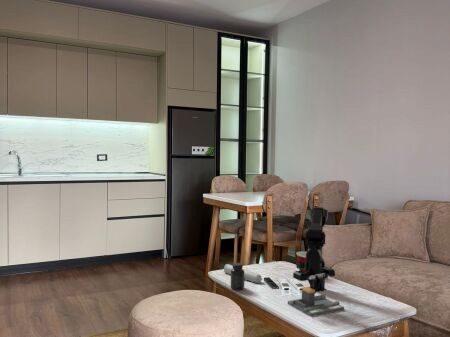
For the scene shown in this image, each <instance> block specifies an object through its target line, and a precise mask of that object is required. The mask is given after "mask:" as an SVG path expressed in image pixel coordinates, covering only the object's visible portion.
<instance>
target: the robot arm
mask: <svg viewBox="0 0 450 337" xmlns="http://www.w3.org/2000/svg"><path fill="white" fill-rule="evenodd" d="M309 218H310V220H311V224H310V225H308V228H307V230H305V231H306V232H305V241H304V246H307V251H306V252H307V253H306V262H304V263H302V261H298V260H296V264H295V265H296V269H297V270H296V271H294V272H293V273H292V274H293V275H292V278H293V279H295V280H298V281H300V282H305V281H307V282H308V284H309V287H310V288H312V289H314V290H315V294H317V293H320V292H324V291H325V292H326V291H327V290H328V289H327V288H325V286H326V285H325V282H326V279H328V278H329V277H332V278H333V277H335V276H336V271H335V269H333V268H331V267H329V266H326V260H325V259H324V257H323V248H324V246H325V245H326V233H325V231H324V226H325V225H326V223H327V219H328V218H329V210H328V209H327V208H326V209H325V208H324V207H321V206H313V207H312V208H310V210H309ZM328 220H329V219H328ZM299 268H300V270H304V269H305V271H308V272H304V271H299Z"/></svg>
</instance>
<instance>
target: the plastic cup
mask: <svg viewBox="0 0 450 337" xmlns="http://www.w3.org/2000/svg"><path fill="white" fill-rule="evenodd" d="M306 253H307V251H296V253H295V254H296V256H297V261H302V263H304V262H306ZM298 271H304V272H308V271H305V269H304V270H300V268H299V269H298Z"/></svg>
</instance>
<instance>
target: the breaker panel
mask: <svg viewBox="0 0 450 337" xmlns="http://www.w3.org/2000/svg"><path fill="white" fill-rule="evenodd" d="M340 303H341V302H340V301H339V300H336V301H335V300H334V301H332V300H330V299H328V298H326V294H319V295H315V305H314V306H309V307H307V305H305V304H303V303H302V298H297V299H292V300H288V301H287V305H289V306H290V307H292V308H293V309H296V310H298V311H299V312H301V313H303V314H305V315H306V316H309V317H310V318H311V317H317V316H321V315H325V314H330V313H331V314H332V313H336V312H341V311H345V306H343V305H341V304H340Z"/></svg>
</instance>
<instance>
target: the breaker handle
mask: <svg viewBox="0 0 450 337" xmlns="http://www.w3.org/2000/svg"><path fill="white" fill-rule="evenodd" d="M315 296H316V293H315V290H314V289H312V288H310V286H302V287H301V299H302V303H303V304H305V305H307V307H309V306H314V305H315Z"/></svg>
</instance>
